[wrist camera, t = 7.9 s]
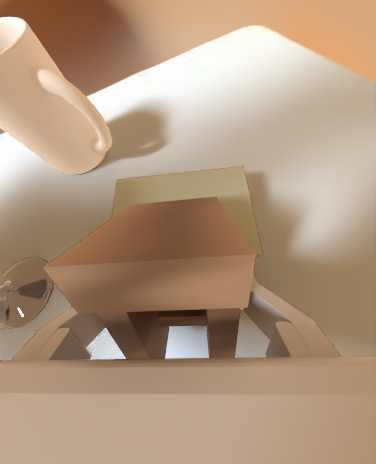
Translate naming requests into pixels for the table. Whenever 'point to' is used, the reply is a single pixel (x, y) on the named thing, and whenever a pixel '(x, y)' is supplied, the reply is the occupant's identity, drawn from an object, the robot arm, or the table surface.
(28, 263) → the wine glass
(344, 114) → the table surface
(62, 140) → the mug
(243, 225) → the pale olive rectangular block
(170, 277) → the stool
